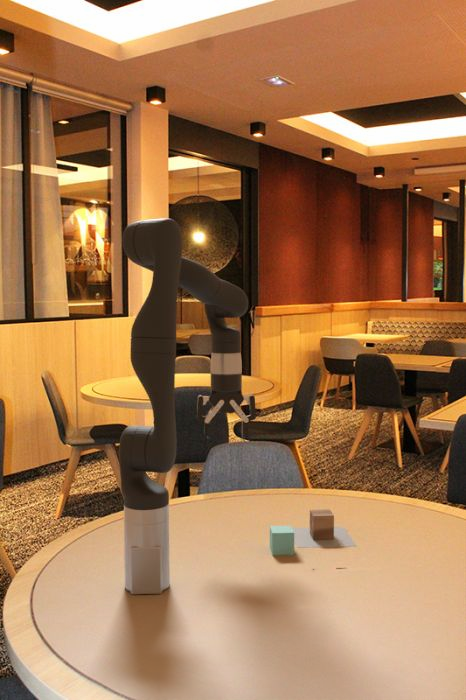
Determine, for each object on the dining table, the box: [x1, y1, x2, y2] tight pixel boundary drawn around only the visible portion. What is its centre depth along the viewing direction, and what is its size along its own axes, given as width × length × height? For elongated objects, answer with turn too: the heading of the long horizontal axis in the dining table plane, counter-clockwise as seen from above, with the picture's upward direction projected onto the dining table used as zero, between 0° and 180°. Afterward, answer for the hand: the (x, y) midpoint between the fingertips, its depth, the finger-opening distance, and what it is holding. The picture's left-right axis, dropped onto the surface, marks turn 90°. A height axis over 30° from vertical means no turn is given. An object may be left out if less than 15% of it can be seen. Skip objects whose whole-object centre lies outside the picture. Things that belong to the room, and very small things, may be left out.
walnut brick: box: [309, 508, 335, 540], centre depth 173 cm, size 5×5×6 cm
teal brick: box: [269, 525, 295, 556], centre depth 164 cm, size 5×5×6 cm
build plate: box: [292, 526, 357, 549], centre depth 174 cm, size 14×14×1 cm
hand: (226, 437), depth 173 cm, fingers open, 8 cm apart
